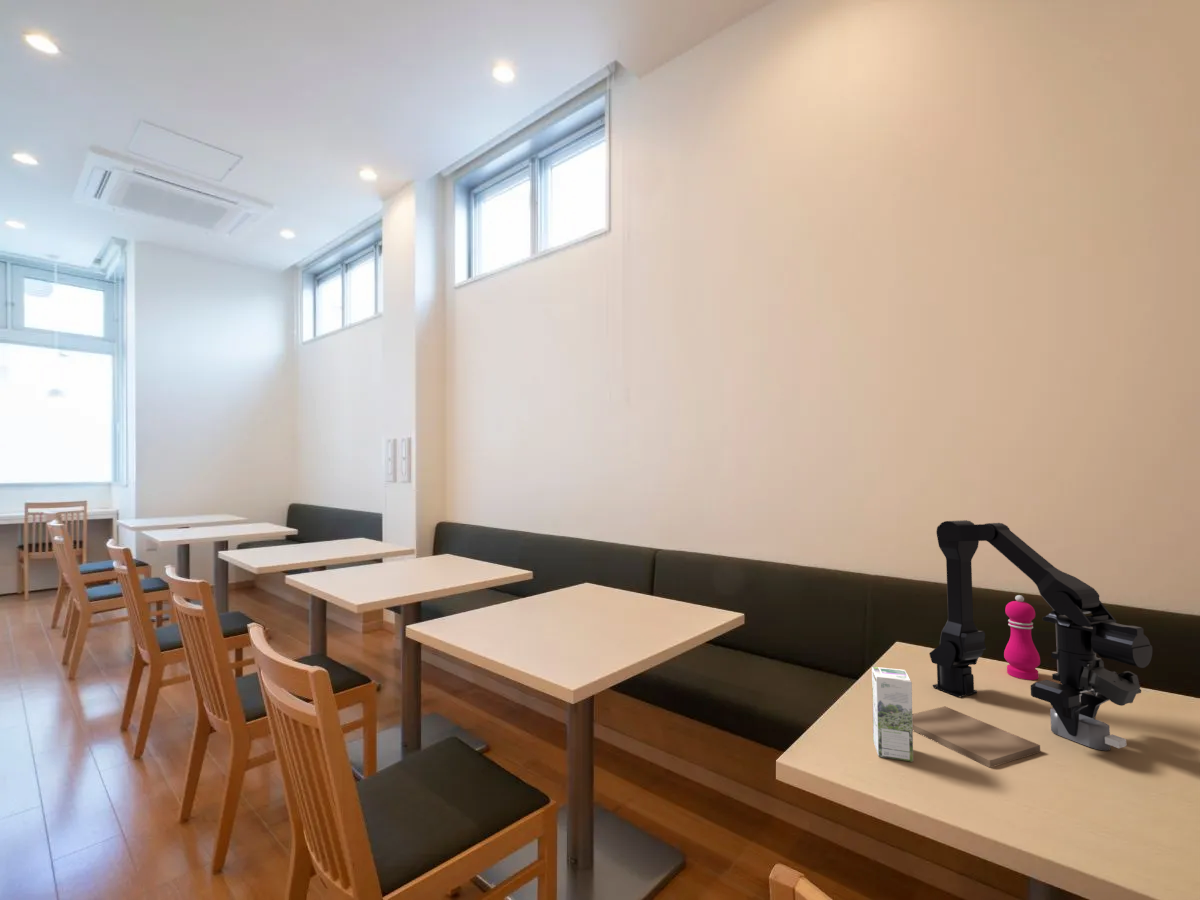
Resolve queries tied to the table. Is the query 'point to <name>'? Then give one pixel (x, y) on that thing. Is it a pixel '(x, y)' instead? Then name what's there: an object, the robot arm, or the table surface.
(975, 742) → the walnut board
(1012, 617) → the pepper mill
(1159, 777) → the table surface
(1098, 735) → the charcoal usb stick
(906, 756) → the syrup box
